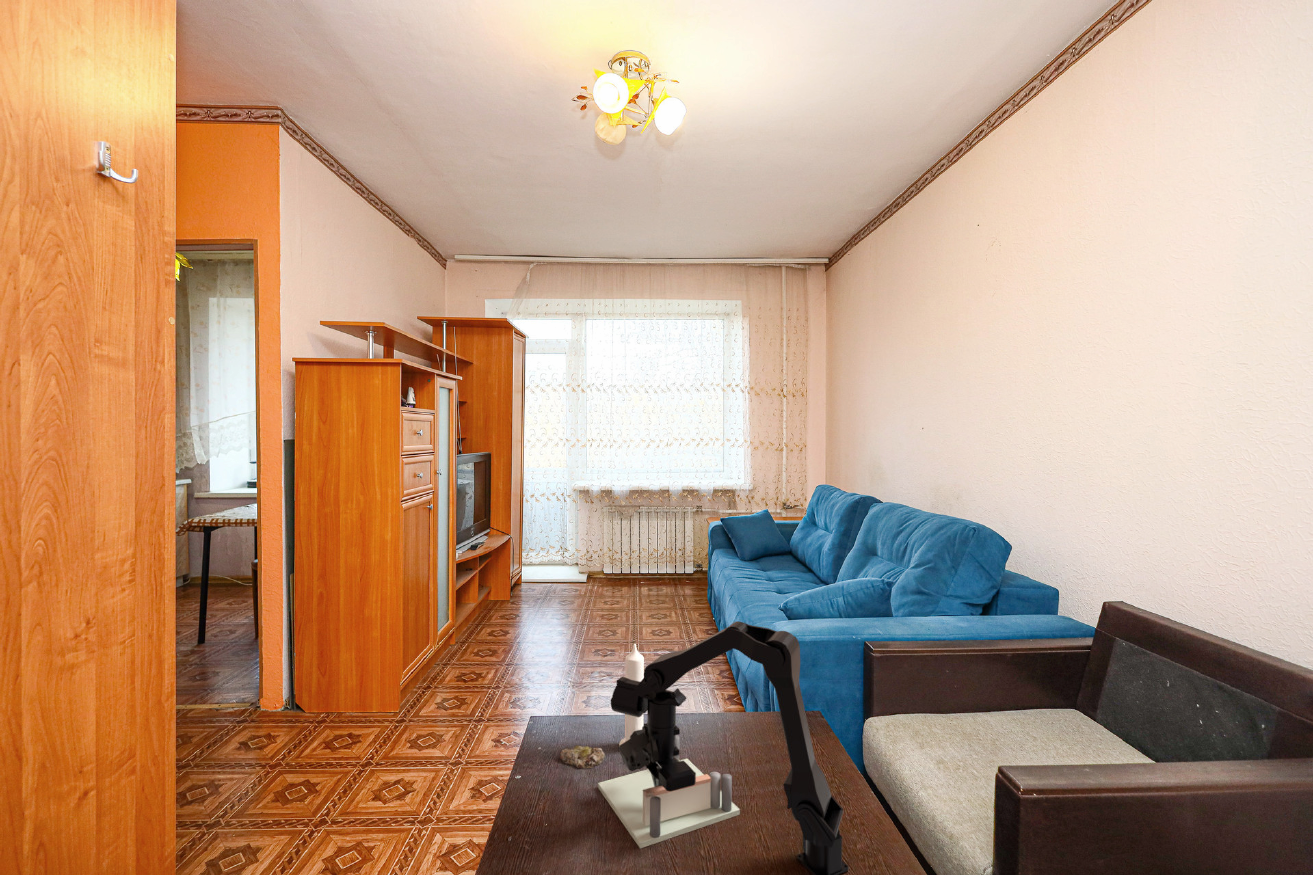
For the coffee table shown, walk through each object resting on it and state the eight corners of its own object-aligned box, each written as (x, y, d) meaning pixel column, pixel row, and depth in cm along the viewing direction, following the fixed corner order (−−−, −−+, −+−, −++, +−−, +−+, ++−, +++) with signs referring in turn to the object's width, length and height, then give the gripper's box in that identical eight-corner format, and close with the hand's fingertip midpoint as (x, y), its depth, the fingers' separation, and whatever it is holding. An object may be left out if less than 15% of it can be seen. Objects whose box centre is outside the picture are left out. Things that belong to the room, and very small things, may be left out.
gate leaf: (716, 800, 120) (717, 770, 120) (722, 806, 118) (722, 776, 118) (641, 819, 114) (642, 788, 114) (646, 826, 112) (646, 795, 112)
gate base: (740, 814, 118) (740, 776, 118) (640, 848, 108) (640, 807, 108) (687, 762, 137) (687, 730, 137) (598, 787, 127) (598, 752, 127)
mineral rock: (609, 741, 142) (601, 749, 134) (608, 762, 141) (601, 771, 133) (565, 740, 143) (555, 748, 135) (564, 760, 142) (554, 769, 134)
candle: (615, 742, 145) (615, 641, 145) (641, 736, 148) (642, 637, 148) (625, 756, 139) (626, 650, 139) (653, 750, 142) (653, 646, 142)
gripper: (607, 709, 123) (606, 783, 123) (643, 753, 106) (642, 839, 106) (655, 699, 128) (654, 771, 128) (697, 740, 111) (696, 823, 111)
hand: (660, 799), depth 118 cm, fingers closed
